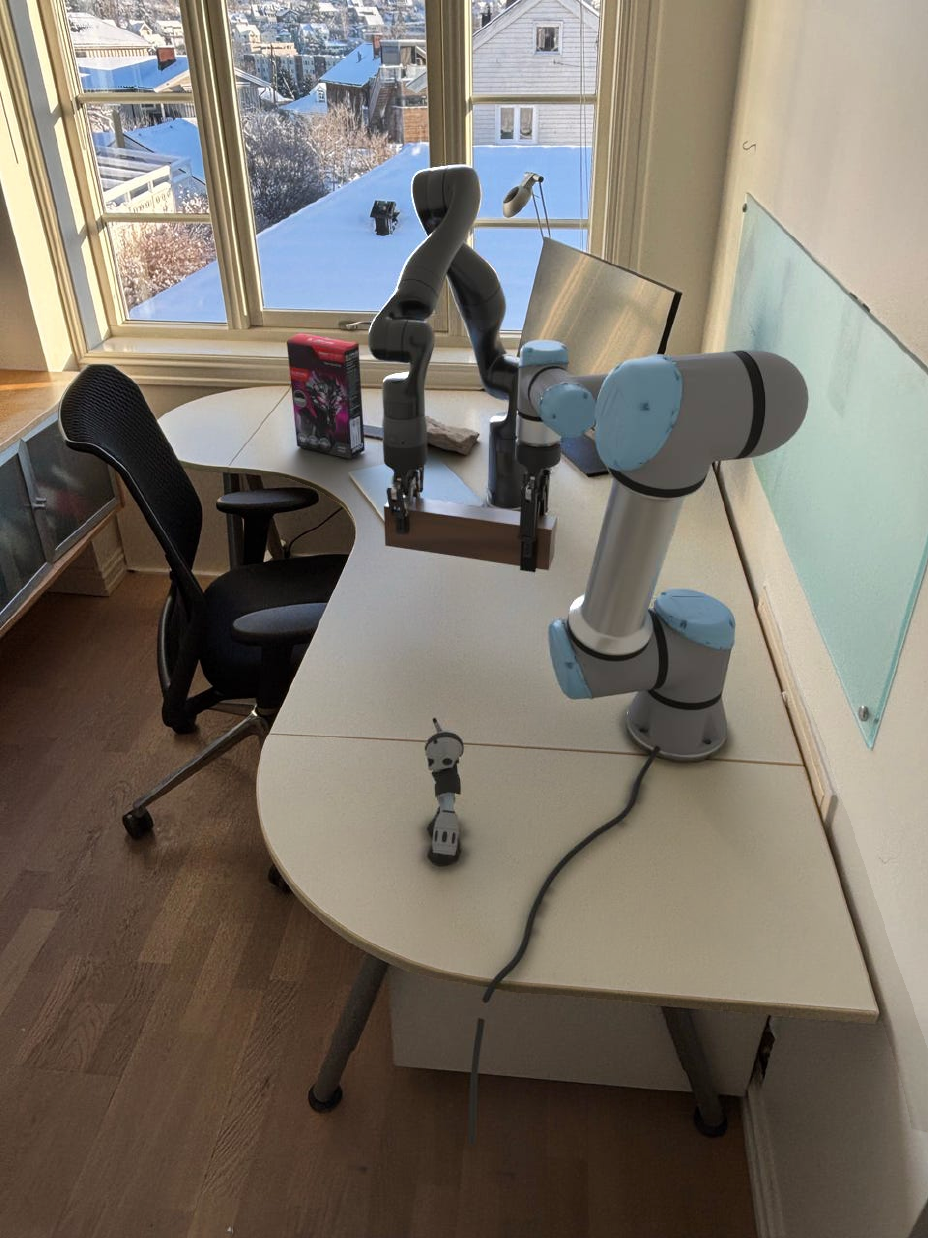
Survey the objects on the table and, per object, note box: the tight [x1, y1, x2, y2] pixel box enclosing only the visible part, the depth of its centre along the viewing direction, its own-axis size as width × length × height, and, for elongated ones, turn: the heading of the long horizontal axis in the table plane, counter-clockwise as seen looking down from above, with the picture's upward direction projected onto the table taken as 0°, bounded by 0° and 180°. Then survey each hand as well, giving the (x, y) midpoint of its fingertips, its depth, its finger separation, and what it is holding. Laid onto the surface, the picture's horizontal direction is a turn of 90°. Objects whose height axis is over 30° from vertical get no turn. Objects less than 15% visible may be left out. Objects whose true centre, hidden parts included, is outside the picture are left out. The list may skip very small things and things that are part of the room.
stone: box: [425, 414, 481, 455], centre depth 233 cm, size 21×15×6 cm
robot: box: [423, 717, 465, 867], centre depth 118 cm, size 20×5×20 cm, turn 3°
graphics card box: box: [286, 332, 366, 459], centre depth 224 cm, size 17×7×27 cm, turn 62°
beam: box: [383, 495, 558, 571], centre depth 163 cm, size 5×30×8 cm, turn 75°
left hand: (407, 525), depth 166 cm, fingers closed on beam, 5 cm apart
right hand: (531, 562), depth 163 cm, fingers closed on beam, 5 cm apart
